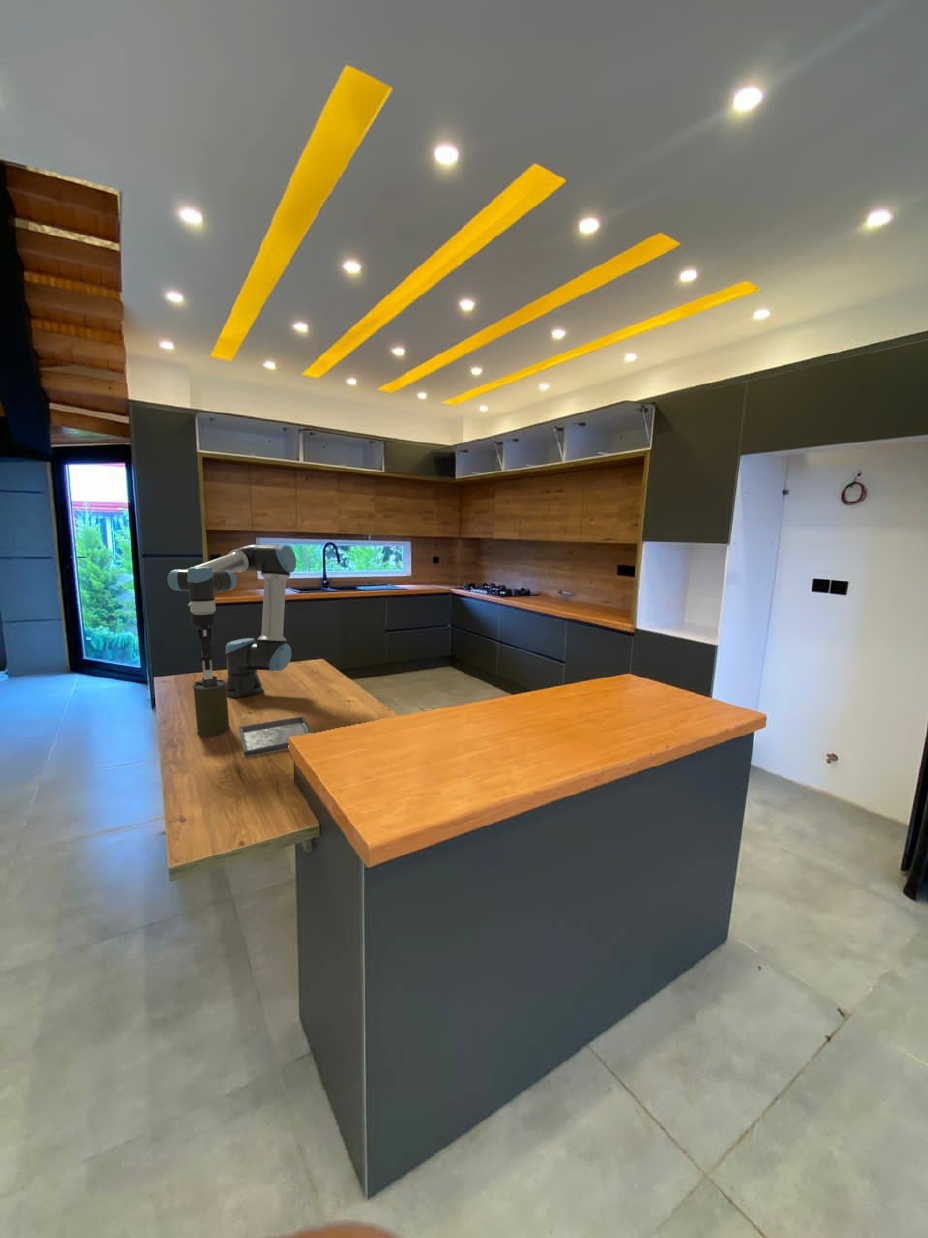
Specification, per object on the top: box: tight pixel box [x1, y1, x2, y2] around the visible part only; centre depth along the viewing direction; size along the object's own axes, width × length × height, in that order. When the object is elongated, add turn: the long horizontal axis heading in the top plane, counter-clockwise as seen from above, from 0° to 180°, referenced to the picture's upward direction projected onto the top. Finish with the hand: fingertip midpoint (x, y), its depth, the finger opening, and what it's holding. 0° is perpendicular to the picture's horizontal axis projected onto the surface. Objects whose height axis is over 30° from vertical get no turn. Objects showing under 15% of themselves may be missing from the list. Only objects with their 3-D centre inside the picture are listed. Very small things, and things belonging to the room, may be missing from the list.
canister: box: [192, 675, 231, 738], centre depth 169 cm, size 11×10×20 cm
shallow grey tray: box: [238, 715, 314, 758], centre depth 166 cm, size 22×22×2 cm
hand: (207, 673), depth 167 cm, fingers open, 13 cm apart
